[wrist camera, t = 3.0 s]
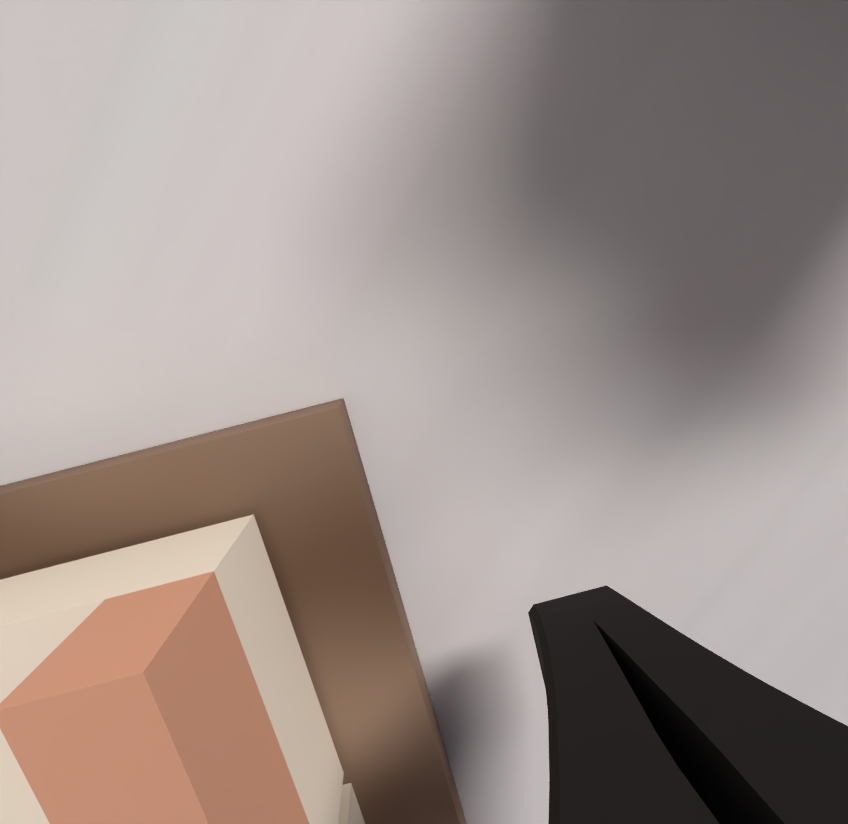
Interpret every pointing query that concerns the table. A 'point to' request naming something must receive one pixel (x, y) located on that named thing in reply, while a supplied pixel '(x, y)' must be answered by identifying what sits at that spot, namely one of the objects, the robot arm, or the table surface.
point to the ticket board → (295, 573)
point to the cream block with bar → (160, 691)
